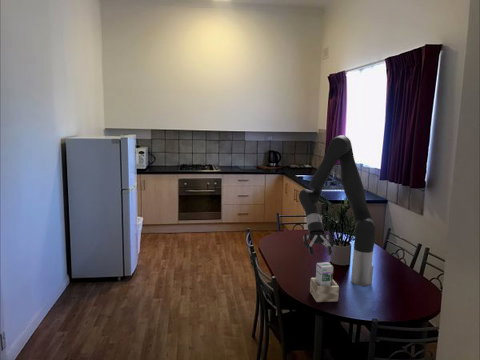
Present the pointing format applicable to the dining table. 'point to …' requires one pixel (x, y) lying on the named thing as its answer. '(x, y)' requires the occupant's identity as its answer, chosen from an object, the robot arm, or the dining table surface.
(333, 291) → the holder
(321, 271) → the syrup box
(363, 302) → the dining table surface
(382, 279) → the dining table surface
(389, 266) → the dining table surface
